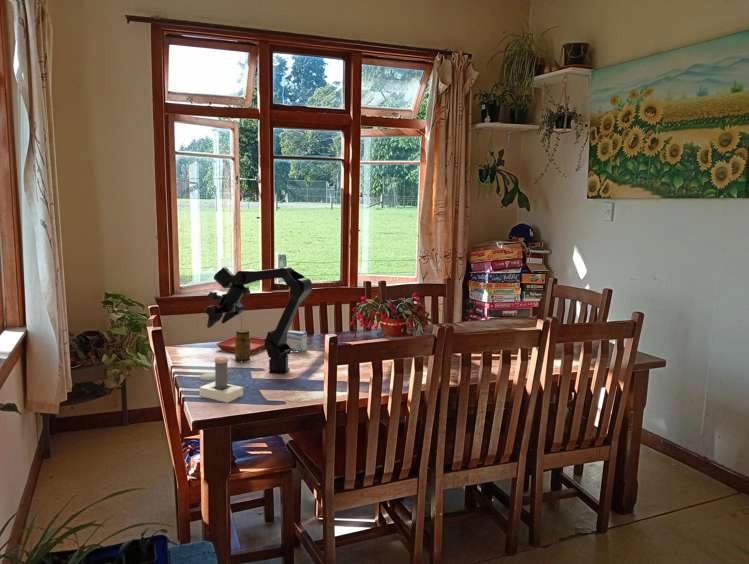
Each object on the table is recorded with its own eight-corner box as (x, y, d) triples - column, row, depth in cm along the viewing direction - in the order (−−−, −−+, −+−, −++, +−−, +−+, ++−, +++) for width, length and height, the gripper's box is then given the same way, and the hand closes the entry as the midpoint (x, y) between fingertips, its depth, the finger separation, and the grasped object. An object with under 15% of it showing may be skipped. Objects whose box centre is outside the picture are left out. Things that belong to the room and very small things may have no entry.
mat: (225, 374, 223) (225, 373, 223) (216, 381, 215) (216, 380, 215) (205, 373, 224) (205, 372, 224) (195, 379, 217) (195, 378, 217)
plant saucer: (273, 346, 267) (273, 339, 266) (251, 356, 250) (251, 348, 250) (238, 341, 273) (238, 334, 272) (215, 351, 256) (215, 343, 256)
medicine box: (285, 351, 259) (286, 331, 258) (290, 348, 263) (290, 329, 262) (302, 353, 257) (302, 333, 255) (306, 350, 261) (307, 331, 260)
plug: (230, 394, 203) (230, 357, 201) (224, 398, 199) (224, 361, 197) (218, 393, 204) (217, 356, 202) (212, 397, 199) (212, 360, 197)
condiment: (246, 356, 249) (246, 328, 248) (256, 360, 243) (256, 332, 241) (230, 358, 245) (230, 330, 243) (239, 363, 238) (239, 334, 237)
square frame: (215, 389, 207) (215, 380, 207) (243, 395, 202) (243, 387, 202) (199, 395, 200) (199, 387, 200) (227, 402, 195) (227, 393, 194)
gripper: (233, 280, 244) (216, 308, 249) (204, 286, 227) (186, 316, 232) (252, 297, 242) (234, 325, 247) (224, 304, 225) (205, 334, 230)
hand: (215, 325), depth 239 cm, fingers open, 9 cm apart
